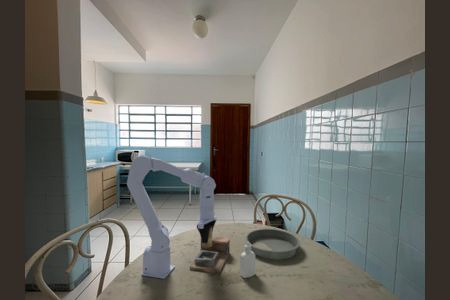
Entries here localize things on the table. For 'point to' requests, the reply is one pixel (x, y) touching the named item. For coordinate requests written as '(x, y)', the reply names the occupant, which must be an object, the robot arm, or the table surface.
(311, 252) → the table surface
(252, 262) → the eye dropper bottle
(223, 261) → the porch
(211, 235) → the peg
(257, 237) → the cake pan
